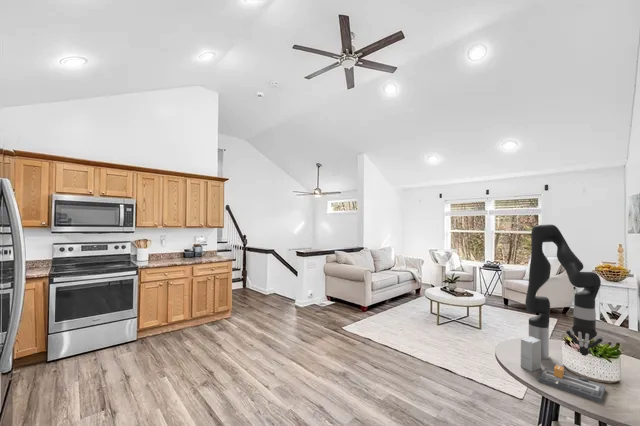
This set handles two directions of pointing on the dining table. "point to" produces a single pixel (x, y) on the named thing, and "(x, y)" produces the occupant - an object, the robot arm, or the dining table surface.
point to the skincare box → (531, 353)
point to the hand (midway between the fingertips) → (583, 354)
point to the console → (573, 385)
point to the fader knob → (559, 371)
